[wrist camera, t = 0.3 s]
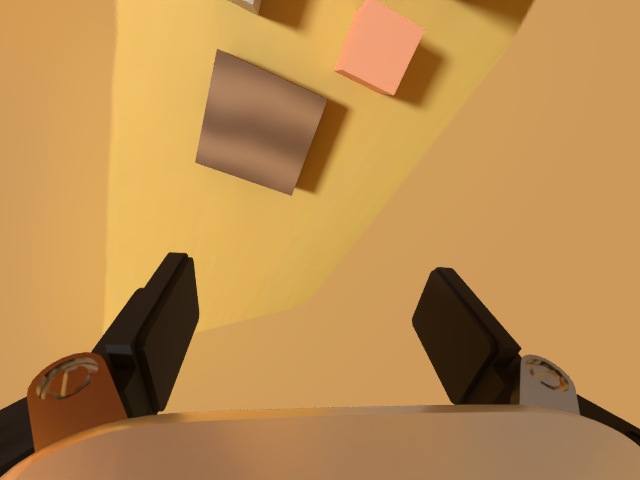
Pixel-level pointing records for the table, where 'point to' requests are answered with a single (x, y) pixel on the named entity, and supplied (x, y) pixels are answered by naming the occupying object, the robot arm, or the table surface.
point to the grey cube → (249, 5)
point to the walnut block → (257, 124)
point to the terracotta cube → (378, 47)
